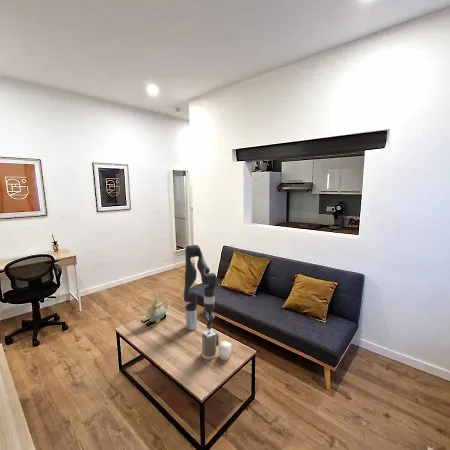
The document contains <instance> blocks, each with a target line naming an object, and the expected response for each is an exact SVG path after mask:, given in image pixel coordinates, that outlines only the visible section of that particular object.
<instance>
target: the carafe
mask: <svg viewBox="0 0 450 450" xmlns="http://www.w3.org/2000/svg"><path fill="white" fill-rule="evenodd" d="M219 335H220V334H219V333H217V332H215V330H213V329H212V328H211V329H210V334H209V329H207V330H205V331H202V335H201V341H202V342H201V345H202V346H201V347H202V348H201V356H202V357H201V358H204V359H206V360H213V359H214V358H216V357H218V351H217V347H219V344H220V341H219V340H220V338H219Z"/></svg>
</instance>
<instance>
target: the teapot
mask: <svg viewBox="0 0 450 450" xmlns="http://www.w3.org/2000/svg"><path fill="white" fill-rule="evenodd" d="M156 292H158V294H156ZM160 293H161V292H160V291H158V290H155V292H153V295H154V300H153V303H151V304H150V305H151V306H150V308H149V307H147V306H146V307H145V308H144V310H145V311H146V314H145V315H146V318H147V319H149V320H150V321H154V322H155V324H160V320H162V319H163V318H164V316H165V315H166V313H167V309H168V308H169V305H168V303H167V301H169V298H168V297H167V298H165V300H164V301H162V300H160ZM155 294H156V295H155ZM164 305H165V307H164Z"/></svg>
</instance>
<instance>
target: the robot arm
mask: <svg viewBox="0 0 450 450" xmlns="http://www.w3.org/2000/svg"><path fill="white" fill-rule="evenodd" d="M184 250H185V251H184V253H185V254H184V255H185V270H184V271H185V272H184V290H183V301H184V302H185V303H187V304H186V305H185V329H186V330H188V331H194V330H197V328H198V311H197V309H198V307H197V306H198V292H197V290H196V289H191V287H192V286H193V285H194V283H195V282H196V280H197V274H198V273H197V271H198V272H199V273H200V278H201V279H200V281H201V283H202V284H203V285H207V286H205V287H204V289H203V293H204V294H203V295H204V296H203V312H204V317H205V318H206V320H207V321H206V322H207V323H206V325H207V324H208V325H211V324H212V321H213V320H214V319H215V318H216V314H214V309H215V307H216V306H215V305H216V304H215V302H216V299H215V289H216V284H217V281H218V276H217V274H216V273H214V272H210V270H211V269H210V267H209V266H208V264H207V262H206V260H205V258H204V255H203V252H202V250H201V247H200V246H199V245H198V244H191V245H187V246H186V247H185V249H184ZM196 257H197V258H198V259H197V263H196V267H197V269H196V267H195V266H194V264H193V263H192V258H196Z"/></svg>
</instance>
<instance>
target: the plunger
mask: <svg viewBox="0 0 450 450" xmlns="http://www.w3.org/2000/svg"><path fill="white" fill-rule="evenodd" d="M212 328H213V325H212V323H211V325H208V324H207V323H206V329H207V330H209V334H210V329H211V330H212Z"/></svg>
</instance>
